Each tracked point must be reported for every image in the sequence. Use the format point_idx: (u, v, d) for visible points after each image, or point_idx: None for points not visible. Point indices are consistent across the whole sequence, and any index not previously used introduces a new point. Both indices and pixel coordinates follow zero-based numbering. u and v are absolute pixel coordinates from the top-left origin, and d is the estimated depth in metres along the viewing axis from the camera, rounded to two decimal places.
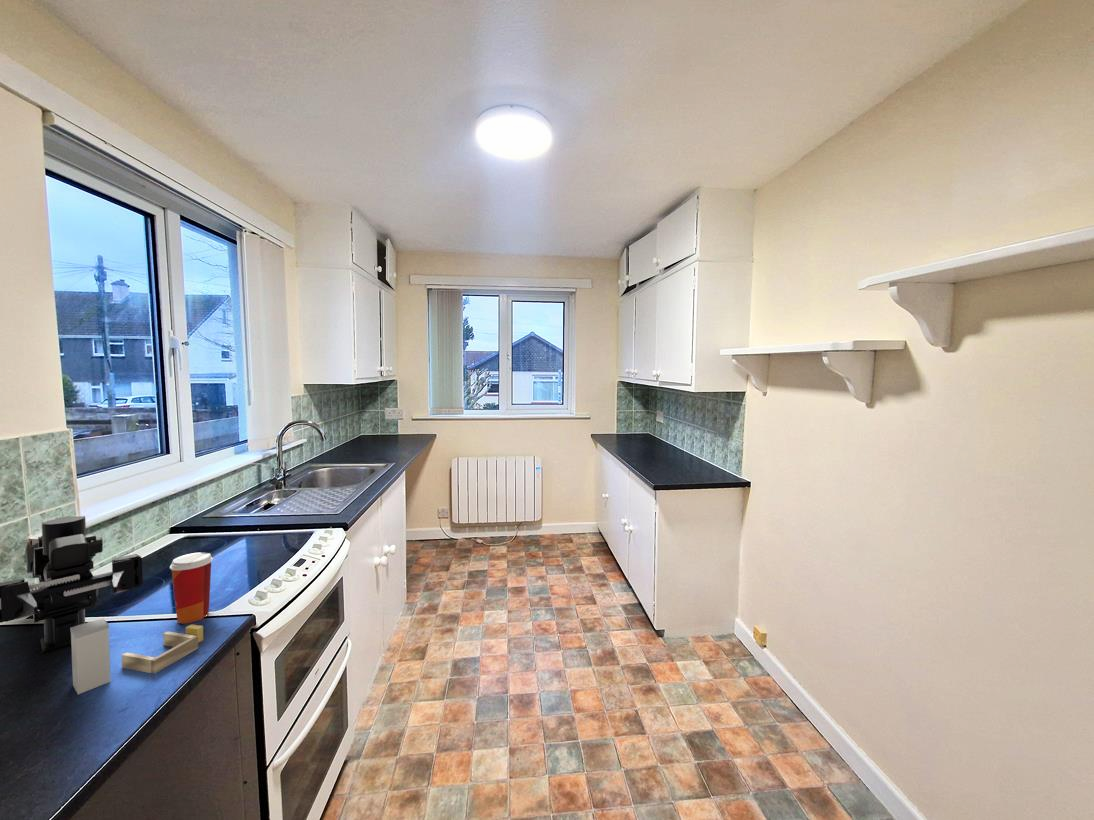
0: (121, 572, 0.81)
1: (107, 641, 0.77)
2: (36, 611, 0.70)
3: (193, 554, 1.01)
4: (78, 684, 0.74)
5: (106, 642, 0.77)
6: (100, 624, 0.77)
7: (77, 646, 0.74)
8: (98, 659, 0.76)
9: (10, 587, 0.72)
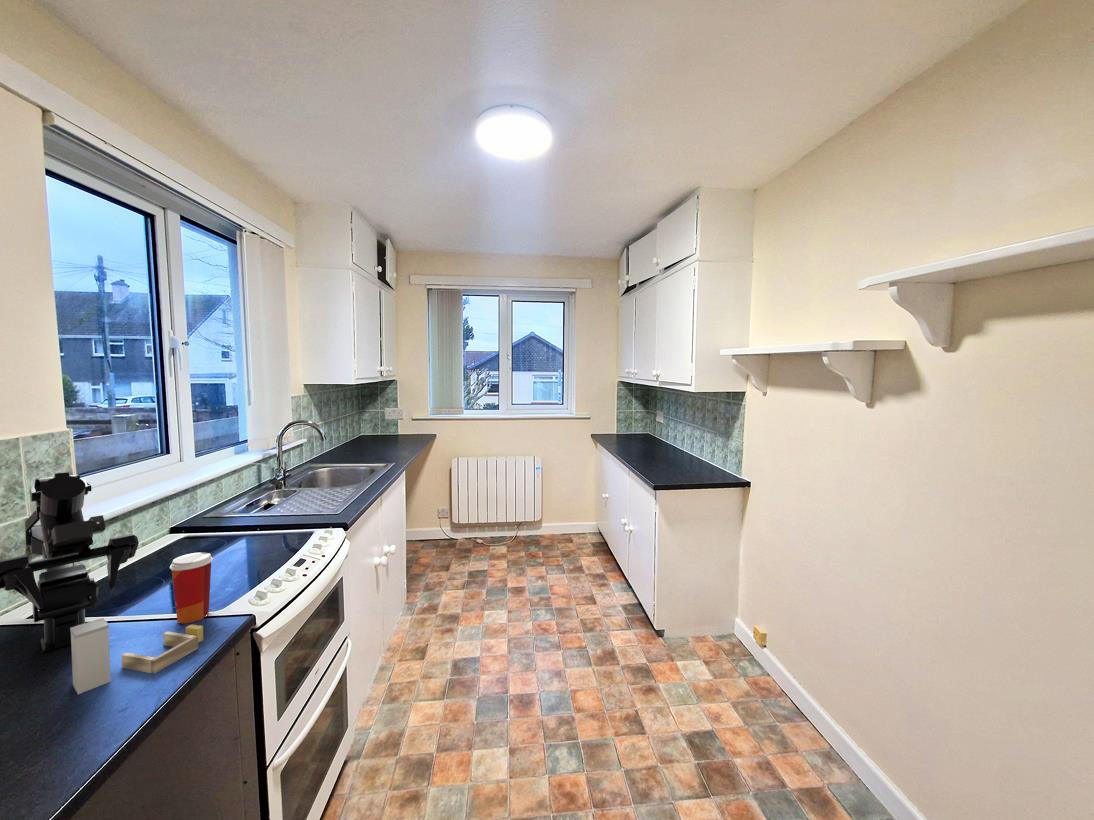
0: (119, 561, 0.87)
1: (107, 641, 0.77)
2: (41, 608, 0.77)
3: (193, 554, 1.01)
4: (78, 684, 0.74)
5: (106, 642, 0.77)
6: (100, 624, 0.77)
7: (77, 646, 0.74)
8: (98, 660, 0.76)
9: (16, 573, 0.76)
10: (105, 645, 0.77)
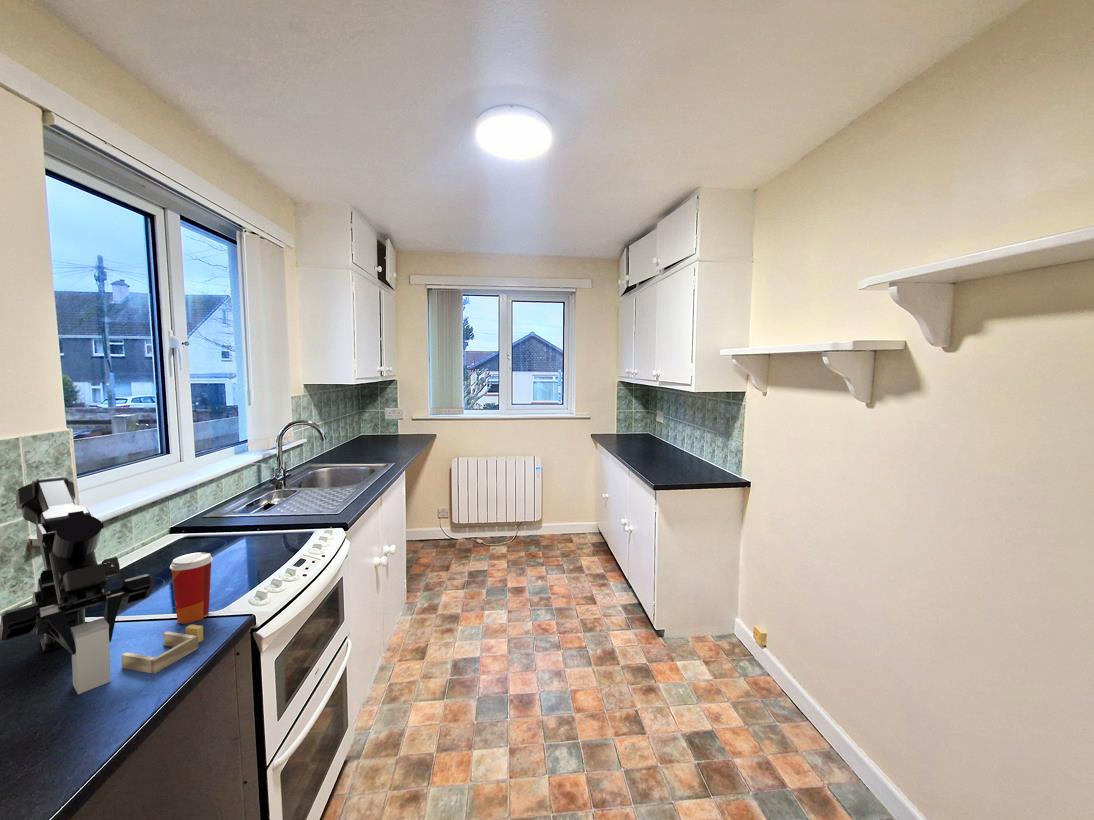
0: (116, 610, 0.80)
1: (107, 641, 0.77)
2: (74, 653, 0.74)
3: (193, 554, 1.01)
4: (78, 684, 0.74)
5: (106, 642, 0.77)
6: (100, 623, 0.77)
7: (77, 646, 0.74)
8: (98, 659, 0.76)
9: (48, 617, 0.73)
10: (105, 645, 0.77)
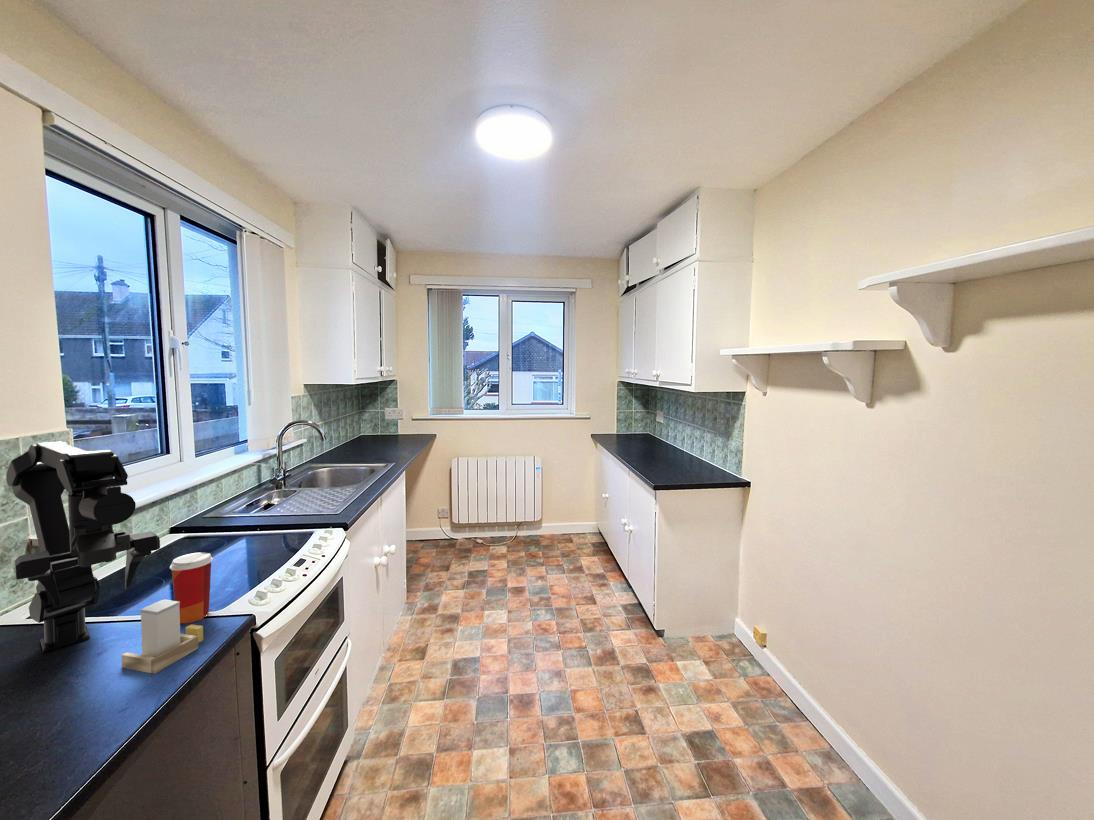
0: (137, 564, 0.87)
1: (178, 616, 0.85)
2: None
3: (193, 554, 1.01)
4: None
5: (178, 617, 0.85)
6: (169, 602, 0.85)
7: (158, 622, 0.82)
8: (172, 633, 0.84)
9: (37, 579, 0.76)
10: (177, 620, 0.85)
